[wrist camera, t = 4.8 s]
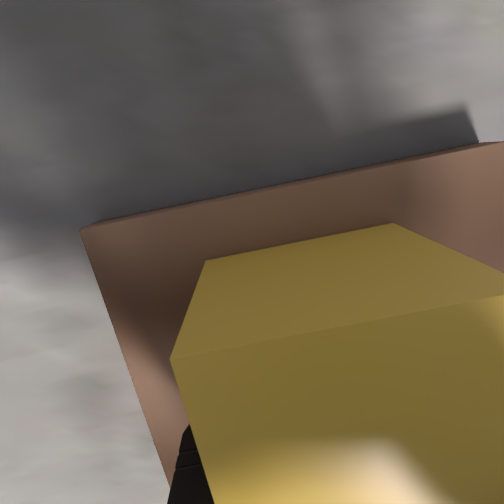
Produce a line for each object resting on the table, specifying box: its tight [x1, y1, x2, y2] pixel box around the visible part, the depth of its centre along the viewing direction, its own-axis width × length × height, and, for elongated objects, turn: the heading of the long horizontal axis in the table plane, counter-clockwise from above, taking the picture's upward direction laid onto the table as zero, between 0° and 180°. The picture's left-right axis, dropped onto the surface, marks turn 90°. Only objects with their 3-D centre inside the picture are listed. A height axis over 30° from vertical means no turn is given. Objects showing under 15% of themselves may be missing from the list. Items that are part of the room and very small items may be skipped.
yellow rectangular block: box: [170, 223, 504, 504], centre depth 8 cm, size 9×5×4 cm, turn 11°
